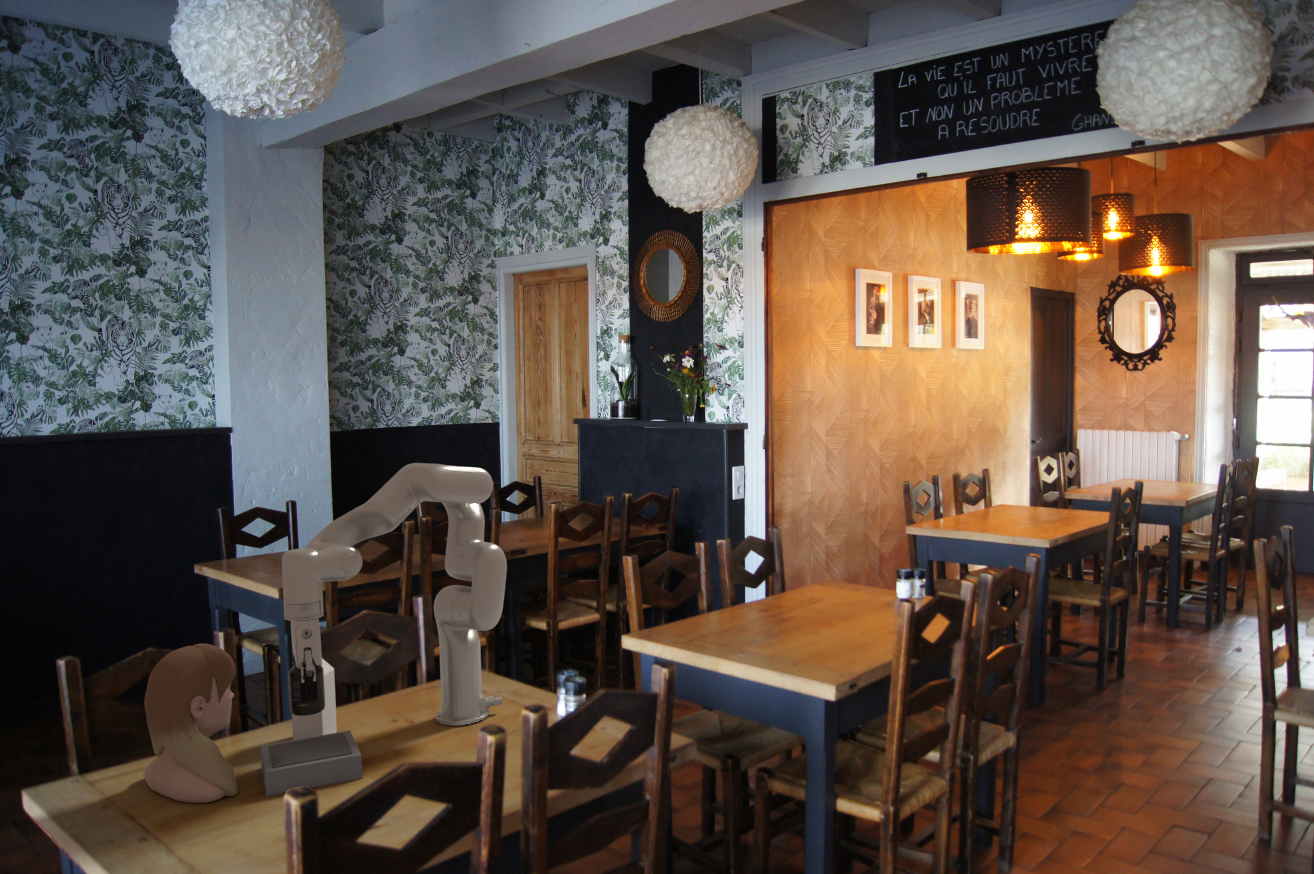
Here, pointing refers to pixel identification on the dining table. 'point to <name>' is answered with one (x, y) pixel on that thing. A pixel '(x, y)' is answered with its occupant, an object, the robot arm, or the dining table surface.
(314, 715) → the milk carton
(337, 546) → the robot arm
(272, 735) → the dining table surface
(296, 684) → the supplement bottle
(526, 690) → the dining table surface
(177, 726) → the head mannequin
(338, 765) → the display riser
